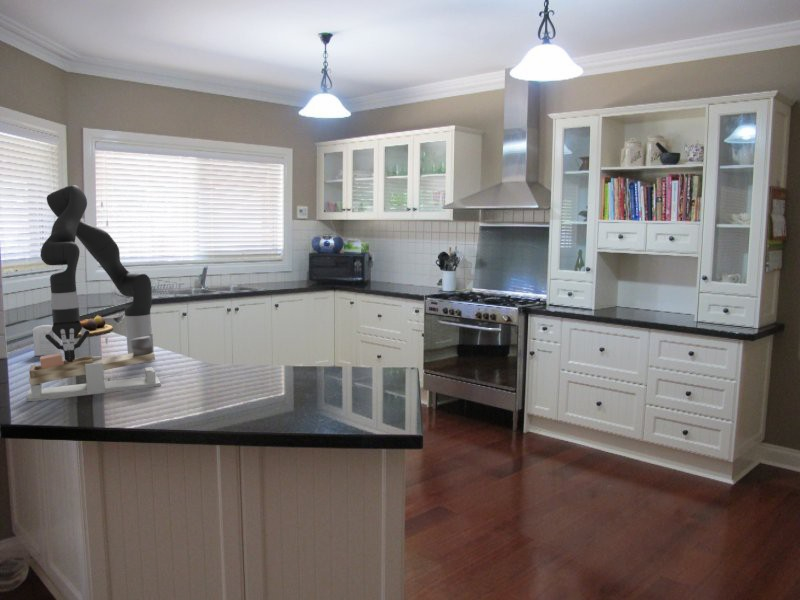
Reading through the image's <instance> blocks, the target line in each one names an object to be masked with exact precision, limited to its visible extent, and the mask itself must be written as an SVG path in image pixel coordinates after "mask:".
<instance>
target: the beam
mask: <svg viewBox="0 0 800 600" xmlns="http://www.w3.org/2000/svg"><path fill="white" fill-rule="evenodd" d="M131 345H132V350H133V353H130V354H128V353H126V354H125V353H124V354H121V355H117V356H111V357H106V358H102V359H100V360H95V361H93V357H94V356H93V355H92V354H91V355H86V356H79V357H75V360H73V362H68V361H66V360H65V359H63V361H64V365H60V366H55V367H49V368H44V369H42V368H41V364H40V365H36V364H33V365H31V364H30V367H29V370H28V372H29V378H28V381H29V384H30V387H31V385H36V384H41V383H42V384H44V383H49V382H55V381H59V380H64V379H68V378H74V377H79V376H84V375H86V370H85V364H90V363H100V362H103V371H104V372H105V371H108V370H112V369H118V368H124V367H127V366H133V365H136V364H141V363H147V362H151V361H156V356H155V352H154V353H153V350H152V345H151V339H150V336H144V337H138V338H134V339H132V340H131Z"/></svg>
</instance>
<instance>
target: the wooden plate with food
mask: <svg viewBox="0 0 800 600" xmlns="http://www.w3.org/2000/svg"><path fill="white" fill-rule="evenodd" d="M80 323H81V325H82V328H84V329H86V330H89V332H90V333H89V335H88V336H89V337H95V336H94V335H96V336H100V335H105V334H108V333H111V332H112V331H113V330H114V327H113V325H110V324H106V320H105V319H104V318H103V317H102V316H101V315H96V316H95V317H94V318H93V319H92V318H89V319H80ZM81 336H82V335H81V331H80V332H79V334H78V335H77V337H76V338H77V339H78V337H80V338H81ZM76 338H75V339H76Z"/></svg>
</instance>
